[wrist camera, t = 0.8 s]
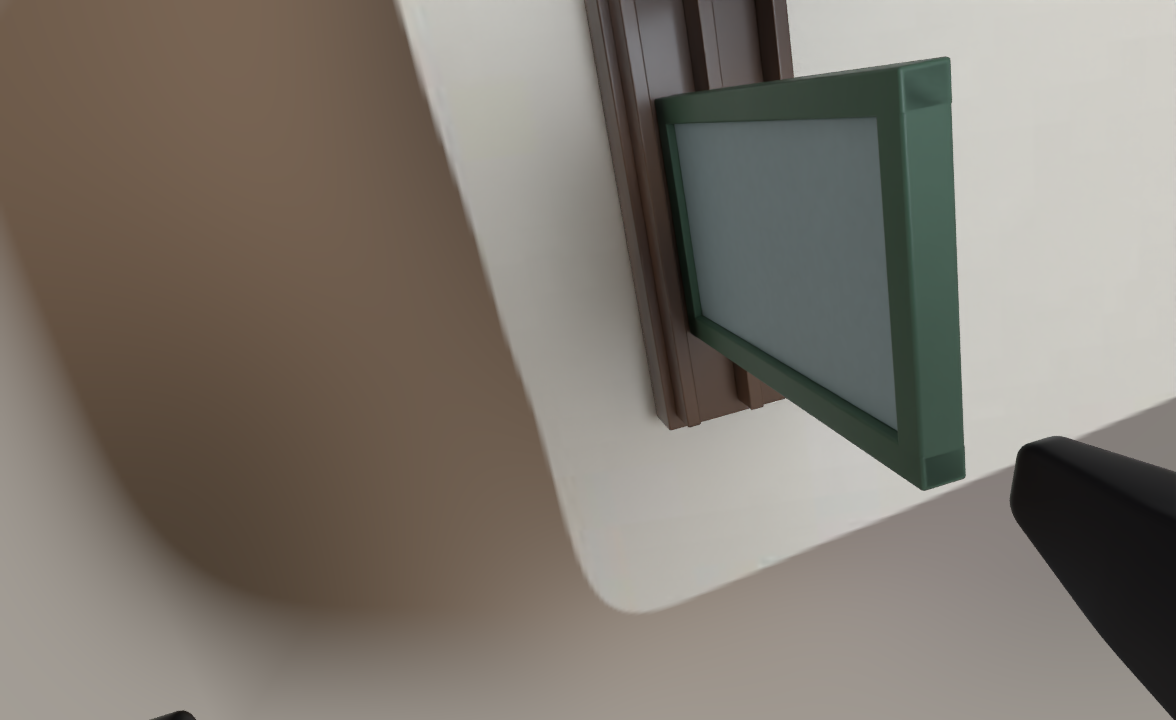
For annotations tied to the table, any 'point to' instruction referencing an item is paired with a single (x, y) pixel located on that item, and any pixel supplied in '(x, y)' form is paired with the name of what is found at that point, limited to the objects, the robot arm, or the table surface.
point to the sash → (830, 249)
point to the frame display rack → (628, 89)
